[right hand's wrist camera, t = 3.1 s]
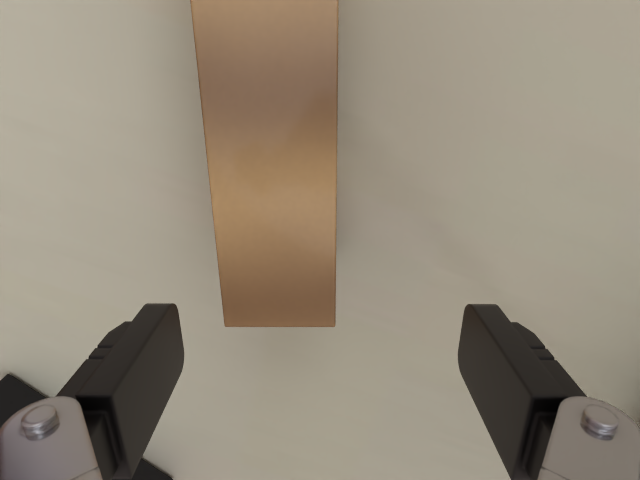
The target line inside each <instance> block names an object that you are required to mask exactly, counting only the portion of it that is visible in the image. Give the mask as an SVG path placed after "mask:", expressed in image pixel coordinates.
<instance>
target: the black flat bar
mask: <svg viewBox="0 0 640 480" xmlns="http://www.w3.org/2000/svg"><path fill="white" fill-rule="evenodd" d="M43 399H46V398H45V397H44V396H42V395H41V394H39V393H38V392H36V391H34V390H33V389H31V388H30V387H28V386H27V385H25V384H24V383H22V382H20V381H19V380H17V379H16V378H14V377H13V376H11V375H9V374H7V375H6V376H5V377H4V378H3V379H2V380H1V381H0V429H1V427H2V425H3V424H4V423H5V422H6V421H7V420H8V419H9V418H10V417H11V416H12V415H14V414H15V413H16V412H18V411H19V410H21V409H22V408H24V407H26V406H28V405H30V404H32V403H34V402H37V401H40V400H43ZM112 480H173V479H172V478H170V477H169V476H167V475H165V474H164V473H162V472H161V471H159V470H158V469H156V468H155V467H153V466H151V465H150V464H148V463H147V462H145V461H144V460H142V459H141V460H140V462H139V464H138V466H137V468H136V470H135V473H134V475H133V477H132V479H112Z"/></svg>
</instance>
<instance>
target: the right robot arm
mask: <svg viewBox="0 0 640 480" xmlns="http://www.w3.org/2000/svg"><path fill="white" fill-rule="evenodd" d="M183 363H184V347H183V341H182V334H181V327H180V320H179V313H178V309H177V306H176V305H175V304H145V305H144V306H143V308H142V309H141V310H140V311H139V313H138V314H137V315H136V317H135V318H134V319H133V321H132V322H124V323H122V324H121V325H119V326H118V327H116V328H115V329H113V330H112V331H110V332H109V333H108V334H107V335H106V336H105V337H104V339H103V340H102V341H101V342H100V343H99V345H98V348H95V349H94V351H93V352H92V353H91V354H90V356H89V359H86V360H85V362H84V363H83V364H82V365H81V366H80V368H79V369H78V370H77V371H76V372H75V374H74V375H73V376H72V377H71V378H70V380H69V381H68V382H67V383H66V385H65V386H64V387H63V388H62V389H61V391H60V392H59V393H58V394H57V395H56V397H50V398H46V399H43V400H40V401H37V402H34V403H32V404H30V405H28V406H26V407H24V408H22V409H21V410H19V411H18V412H16V413H15V414H14V415H12V416H11V417H10V418H9V419H8V420H7V421H6V422H5V423H4V424H3V425H2V427H1V429H0V480H112V479H132V477H133V475H134V473H135V470H136V468H137V466H138V464H139V462H140V460H141V458H142V456H143V453H144V451H145V449H146V447H147V445H148V443H149V441H150V438H151V436H152V434H153V432H154V430H155V428H156V426H157V424H158V421H159V419H160V417H161V415H162V413H163V411H164V409H165V406H166V404H167V402H168V400H169V398H170V396H171V394H172V392H173V389H174V387H175V385H176V383H177V381H178V379H179V377H180V374H181V372H182V368H183ZM458 364H459V369H460V372H461V375H462V377H463V379H464V381H465V384H466V386H467V388H468V390H469V392H470V394H471V396H472V398H473V400H474V402H475V405H476V407H477V409H478V411H479V413H480V415H481V417H482V419H483V421H484V424H485V426H486V428H487V430H488V432H489V434H490V436H491V438H492V440H493V442H494V445H495V447H496V449H497V451H498V453H499V455H500V457H501V459H502V461H503V464H504V466H505V468H506V470H507V472H508V474H509V476H510V478H511V480H640V429H639V427H638V425H637V424H636V423H635V422H634V421H633V420H632V419H631V418H630V417H629V416H628V415H626V414H625V413H624V412H622V411H621V410H619V409H618V408H616V407H614V406H612V405H610V404H608V403H606V402H603V401H600V400H597V399H594V398H590V397H587V396H586V395H585V394H584V393H583V391H582V390H581V389H580V388H579V387H578V385H577V384H576V383H575V382H574V381H573V379H572V378H571V377H570V376H569V375H568V373H567V372H566V371H565V370H564V369H563V367H562V366H561V365H560V364H559V363H558V361H557V360H554V357H553V355H552V354H551V353H550V352H549V351H548V349H545V346H544V345H543V343H542V342H541V341H540V340H539V339H538V337H537V336H536V335H535V334H534V333H533V332H531V331H530V330H528V329H527V328H525V327H524V326H522V325H520V324H519V323H517V322H510V321H509V319H508V318H507V317H506V315H505V314H504V313H503V312H502V310H501V309H500V308H499V307H498V305H496V304H468V305H467V306H466V307H465V310H464V315H463V322H462V329H461V335H460V342H459V349H458Z"/></svg>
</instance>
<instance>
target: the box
mask: <svg viewBox="0 0 640 480" xmlns="http://www.w3.org/2000/svg"><path fill="white" fill-rule="evenodd" d="M190 1H191V11H192V20H193V30H194V39H195V49H196V58H197V68H198V77H199V87H200V96H201V106H202V115H203V125H204V134H205V144H206V153H207V163H208V172H209V182H210V191H211V201H212V210H213V220H214V229H215V239H216V248H217V258H218V267H219V277H220V286H221V296H222V305H223V315H224V324H225V327H335V305H336V201H337V98H338V0H190Z"/></svg>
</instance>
